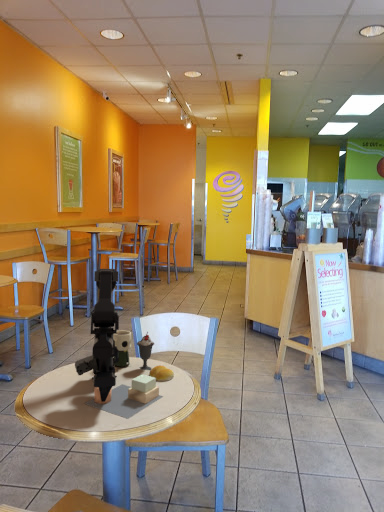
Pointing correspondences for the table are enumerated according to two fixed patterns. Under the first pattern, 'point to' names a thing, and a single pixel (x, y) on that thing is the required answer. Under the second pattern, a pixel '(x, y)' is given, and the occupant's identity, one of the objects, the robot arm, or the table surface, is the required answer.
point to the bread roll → (161, 373)
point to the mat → (122, 403)
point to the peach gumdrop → (98, 398)
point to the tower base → (143, 395)
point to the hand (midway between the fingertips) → (102, 397)
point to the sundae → (145, 350)
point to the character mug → (123, 346)
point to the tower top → (143, 383)
